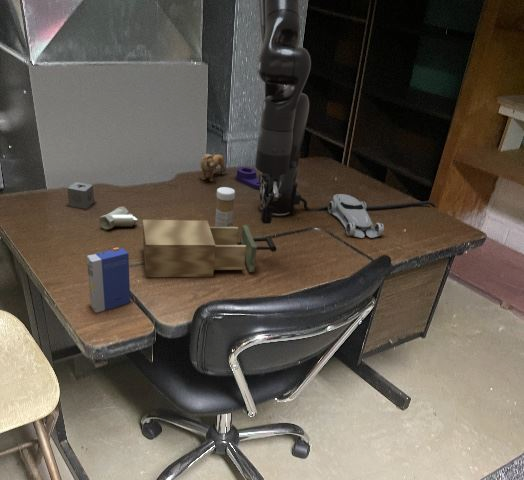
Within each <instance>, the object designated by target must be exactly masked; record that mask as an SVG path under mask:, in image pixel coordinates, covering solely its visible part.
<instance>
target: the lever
mask: <svg viewBox="0 0 524 480" xmlns="http://www.w3.org/2000/svg"><path fill="white" fill-rule="evenodd" d="M257 171H258V170H257V169H256V168H253V167H250V166H239V167H237V169H236V181H237V182H240V183H242V184H244V185H246V186H248V187H250V188H252V189H254V190H259V191H260V189H259V177H258V176H257Z"/></svg>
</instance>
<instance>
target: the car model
mask: <svg viewBox="0 0 524 480" xmlns="http://www.w3.org/2000/svg"><path fill="white" fill-rule="evenodd" d="M332 198H333V199H332V200H330V201H329V202H328V204H327V206H328V209H327V211H328V213H329V215H332V216H334V217H335V218H336V219H337V220H338V221H339V222H341V224H342V225H343V227H344V228H345V234H346V235H347V236H348V237H355V238H359V239H364V238H365V237H367V238H368V239H375V238H377V237H382V235H384V231H385V227H384V224H383V223H382V222H376V223H375V224H373V221H372V219H371V217H370V215H369V213H368V212H367V210H366V208H367V207H368V206H367V203H366V202H365V201H363V200H362V201H360V200H359V199H357V198H356V197H354V196H351V195H350V194H345V193H337V194H334V195H333V197H332ZM343 206H344V207H343Z"/></svg>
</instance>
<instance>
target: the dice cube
mask: <svg viewBox="0 0 524 480" xmlns="http://www.w3.org/2000/svg"><path fill="white" fill-rule="evenodd" d="M66 191H67V198H68V206H69V207H73V208H79V209H83V210H87V209H89V208H90V207H91V206H92V205H93V204H94V203H95V194H94V184H89V183H84V182H79V181H75V182H73V183H72V184H71V185H69V186H68V187H67V190H66Z"/></svg>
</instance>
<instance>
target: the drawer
mask: <svg viewBox="0 0 524 480" xmlns="http://www.w3.org/2000/svg"><path fill="white" fill-rule="evenodd" d="M209 227H210V230H211V233H212V236H213V239H214V242H215V259H214V271H235V270H238V271H243V270H245V265H246V268H247V270H248V272H249V273H254V272H255V268H256V258H257V251H271V252H272V253H274V252H276V251H277V250H278V248H277V246H276V244H275V242H274V240H273V238H272V237H271V236H270V235H268V236H266V237H253V235H252V233H251V231H250V229H249V227H248V225H247V224H244V225H242V227H241V234H240V235H241V236H240V244H238V240H239V239H238V238H239V229H240V228H239V226H232V227H215V226H209ZM256 242H266V244H267V246H257V244H256Z"/></svg>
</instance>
